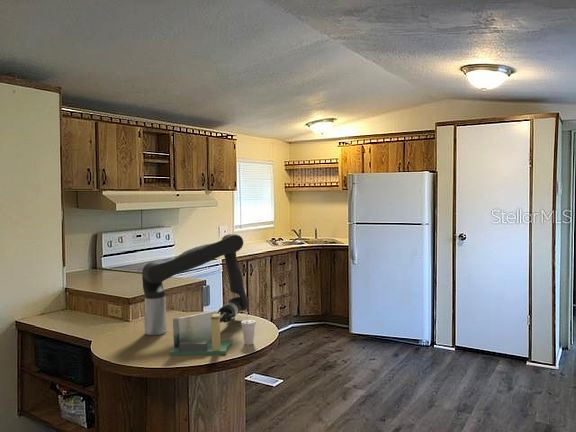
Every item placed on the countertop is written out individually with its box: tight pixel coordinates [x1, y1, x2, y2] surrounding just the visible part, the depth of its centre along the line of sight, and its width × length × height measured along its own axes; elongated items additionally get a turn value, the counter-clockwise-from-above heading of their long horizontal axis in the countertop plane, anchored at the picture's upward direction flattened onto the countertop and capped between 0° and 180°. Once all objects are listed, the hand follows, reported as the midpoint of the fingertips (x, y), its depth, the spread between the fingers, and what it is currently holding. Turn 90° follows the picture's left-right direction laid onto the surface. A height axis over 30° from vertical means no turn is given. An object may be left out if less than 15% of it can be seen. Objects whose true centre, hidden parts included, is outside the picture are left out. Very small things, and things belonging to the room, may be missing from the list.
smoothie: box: [240, 311, 257, 346], centre depth 213 cm, size 6×6×14 cm
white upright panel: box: [172, 310, 218, 348], centre depth 209 cm, size 20×2×12 cm, turn 128°
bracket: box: [169, 314, 232, 356], centre depth 207 cm, size 23×14×16 cm, turn 88°
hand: (215, 322), depth 218 cm, fingers closed
